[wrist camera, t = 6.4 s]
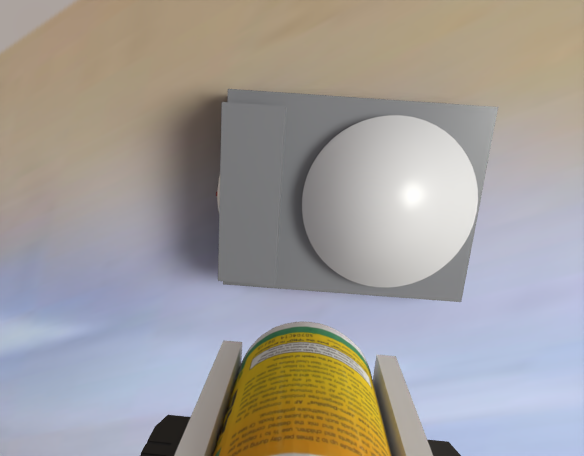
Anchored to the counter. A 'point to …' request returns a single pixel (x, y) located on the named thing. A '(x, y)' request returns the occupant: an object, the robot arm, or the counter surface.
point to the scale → (350, 193)
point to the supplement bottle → (303, 398)
